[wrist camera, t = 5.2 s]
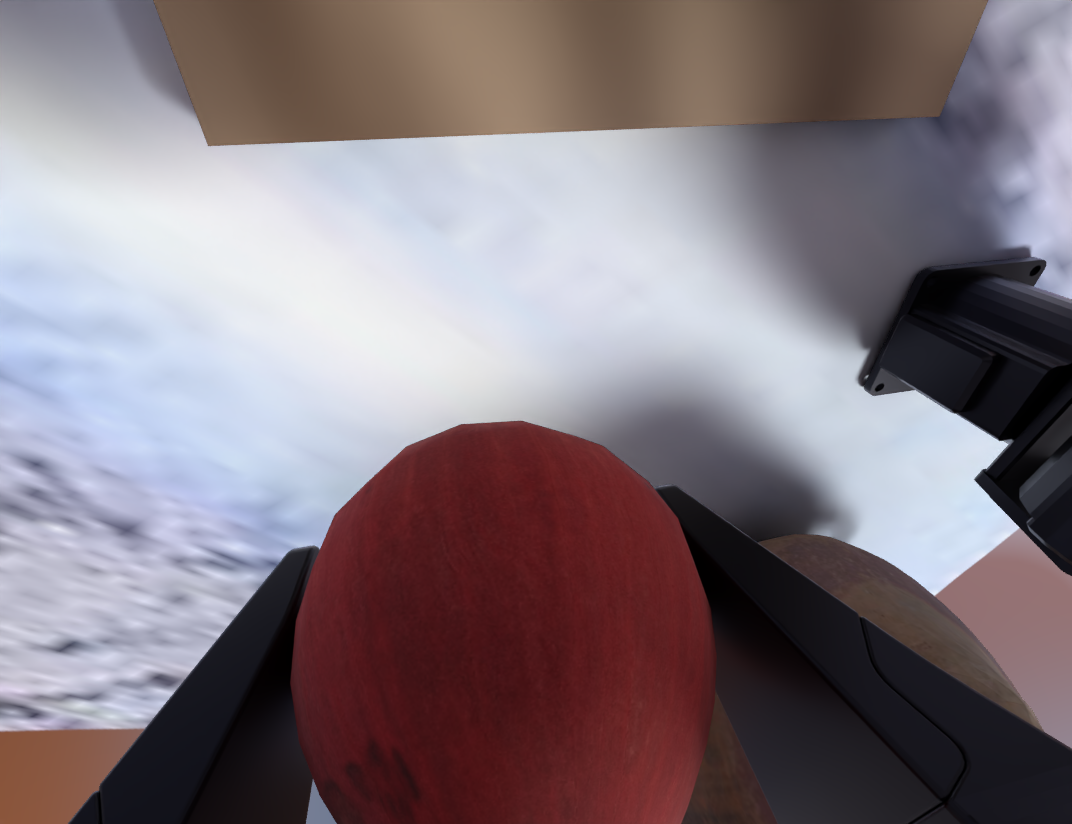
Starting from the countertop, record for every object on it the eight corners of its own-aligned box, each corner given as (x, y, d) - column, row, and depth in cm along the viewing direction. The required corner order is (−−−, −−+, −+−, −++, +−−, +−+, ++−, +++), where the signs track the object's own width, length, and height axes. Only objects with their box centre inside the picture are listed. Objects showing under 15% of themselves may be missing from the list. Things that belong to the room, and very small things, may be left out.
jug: (720, 438, 24) (543, 650, 44) (961, 1113, 10) (533, 979, 29) (1023, 520, 28) (733, 682, 47) (1540, 1108, 13) (810, 991, 32)
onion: (433, 575, 12) (448, 1137, 6) (270, 423, 9) (-169, 1426, 2) (639, 482, 11) (912, 981, 5) (554, 280, 8) (1065, 1041, 2)
